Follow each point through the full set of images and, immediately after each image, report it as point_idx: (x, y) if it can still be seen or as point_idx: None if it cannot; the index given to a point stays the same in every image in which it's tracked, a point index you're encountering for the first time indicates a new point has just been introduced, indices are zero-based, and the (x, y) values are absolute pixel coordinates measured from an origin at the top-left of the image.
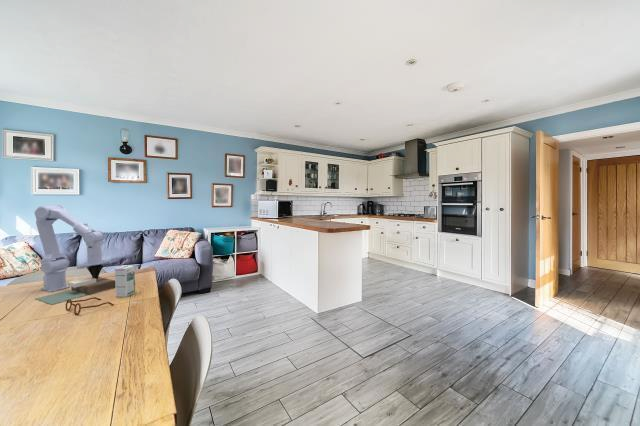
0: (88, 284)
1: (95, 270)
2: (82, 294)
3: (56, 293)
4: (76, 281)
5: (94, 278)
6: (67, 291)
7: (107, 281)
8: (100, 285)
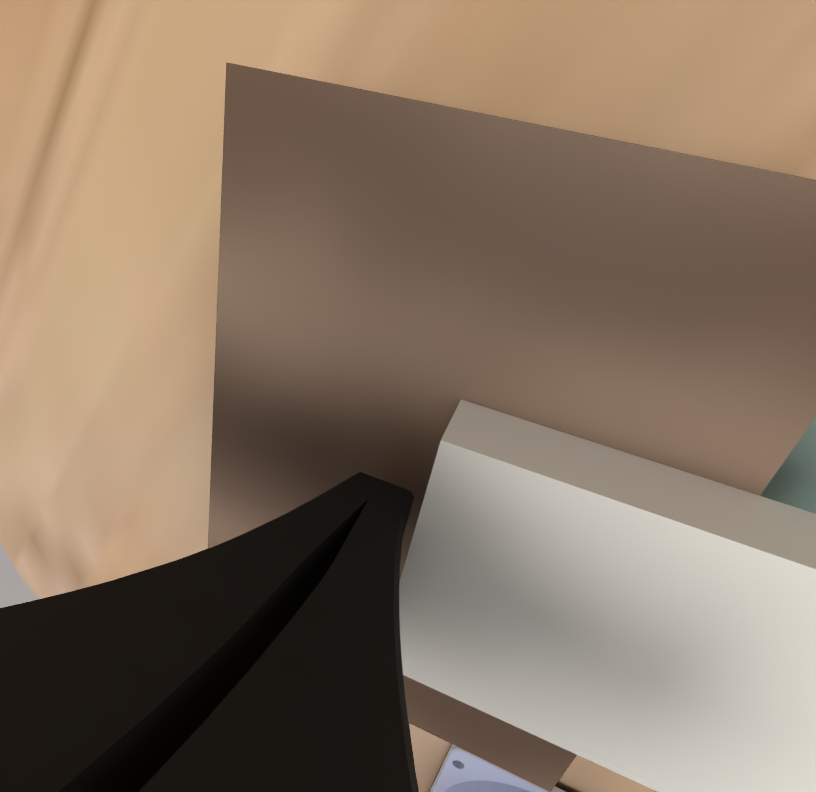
0: (640, 440)
1: (292, 717)
2: None
3: None
4: (761, 732)
5: (437, 495)
6: None
7: (341, 194)
8: (582, 141)
